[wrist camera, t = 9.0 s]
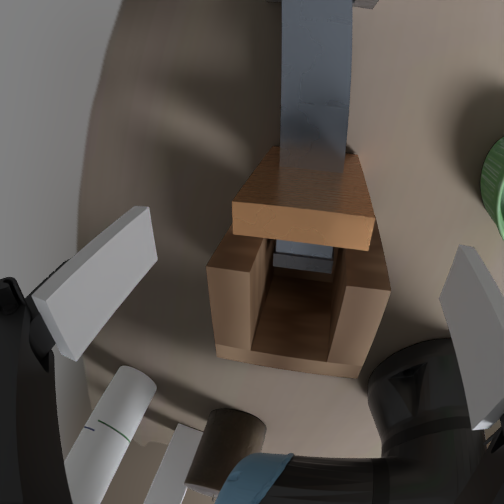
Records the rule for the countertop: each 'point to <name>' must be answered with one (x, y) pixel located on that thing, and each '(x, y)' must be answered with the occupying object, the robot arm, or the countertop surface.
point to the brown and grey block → (310, 148)
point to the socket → (296, 306)
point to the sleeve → (358, 0)
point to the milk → (174, 467)
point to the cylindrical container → (107, 435)
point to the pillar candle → (223, 449)
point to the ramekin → (494, 184)
